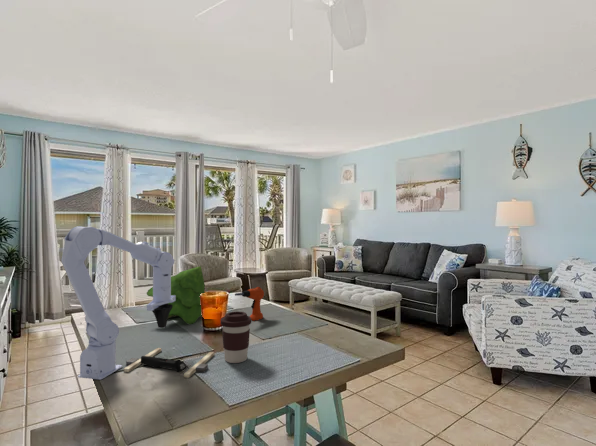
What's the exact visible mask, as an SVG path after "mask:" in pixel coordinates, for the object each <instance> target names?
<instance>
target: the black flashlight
mask: <svg viewBox="0 0 596 446" xmlns="http://www.w3.org/2000/svg"><path fill="white" fill-rule="evenodd" d="M140 358H141V363H142V364H141V365H145V366H147V367H148V366H149V367H151V368H155V369H158V368H159V369H160V368H162V369H168V370H172V371H173V370H175V371H176V372H177V373H180V372H184V371H185V370H186V369H187V368H188V367H187V364H186V363H185V361H183V360H181V359H169V358H163V357H157V356H156V357H155V356H153V357H148V356H145V355H142V356H141V357H140Z"/></svg>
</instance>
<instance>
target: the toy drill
mask: <svg viewBox="0 0 596 446" xmlns="http://www.w3.org/2000/svg"><path fill="white" fill-rule="evenodd" d="M234 296H242V297H243V298H247V299H249V300H250V299H251V300H252V304H251V306H250V307H251V308H252V311H251V314H250V316H249V315H248V316H249V317H251V320H252V321H251V322H255V320H256V321H260V320H262V319H263V318H264V315H263V312H261V300H262V299H263V298H264V296H265V291H264V290H263V289H262V288H261V287H260V286H257V287H253V288H250V289H247V290H244V291H241V292H240V293H239V292H238V293H237V292H236V293H234ZM259 319H260V320H259Z"/></svg>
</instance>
